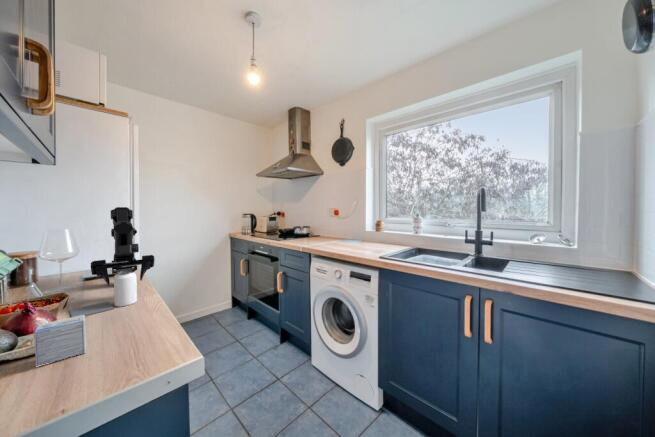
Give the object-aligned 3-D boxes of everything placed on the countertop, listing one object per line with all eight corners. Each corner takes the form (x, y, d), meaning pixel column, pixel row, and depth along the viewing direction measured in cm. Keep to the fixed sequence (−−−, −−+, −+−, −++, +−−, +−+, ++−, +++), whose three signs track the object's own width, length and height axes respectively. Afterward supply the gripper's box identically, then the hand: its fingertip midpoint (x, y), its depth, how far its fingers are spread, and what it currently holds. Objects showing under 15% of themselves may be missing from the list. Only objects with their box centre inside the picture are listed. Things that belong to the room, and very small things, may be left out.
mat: (69, 310, 82) (69, 309, 82) (108, 302, 90) (108, 301, 90) (72, 319, 76) (72, 318, 76) (113, 309, 84) (113, 308, 83)
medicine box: (86, 346, 61) (85, 313, 61) (85, 353, 58) (84, 319, 58) (39, 359, 56) (37, 324, 55) (35, 369, 52) (33, 331, 52)
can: (141, 300, 91) (140, 270, 91) (125, 307, 85) (124, 274, 84) (126, 299, 92) (125, 269, 92) (109, 306, 86) (108, 274, 85)
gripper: (90, 239, 85) (88, 275, 78) (153, 235, 98) (157, 266, 90) (92, 257, 92) (91, 292, 84) (151, 251, 104) (155, 282, 96)
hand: (125, 282), depth 88 cm, fingers open, 9 cm apart
